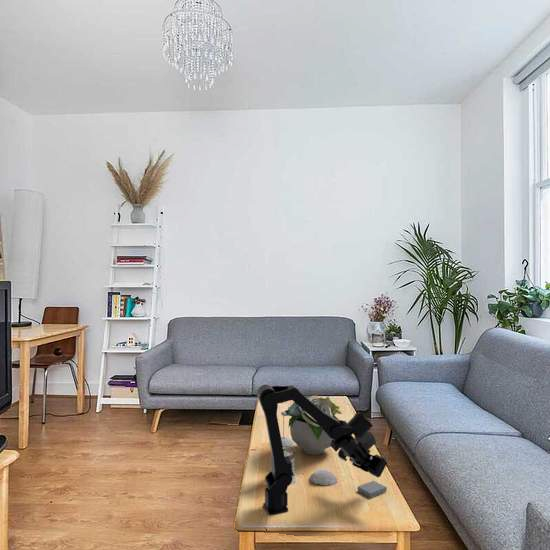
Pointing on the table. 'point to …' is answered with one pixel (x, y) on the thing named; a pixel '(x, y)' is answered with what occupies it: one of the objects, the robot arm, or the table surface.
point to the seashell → (323, 477)
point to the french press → (286, 443)
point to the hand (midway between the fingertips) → (373, 471)
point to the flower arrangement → (311, 425)
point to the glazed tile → (372, 489)
